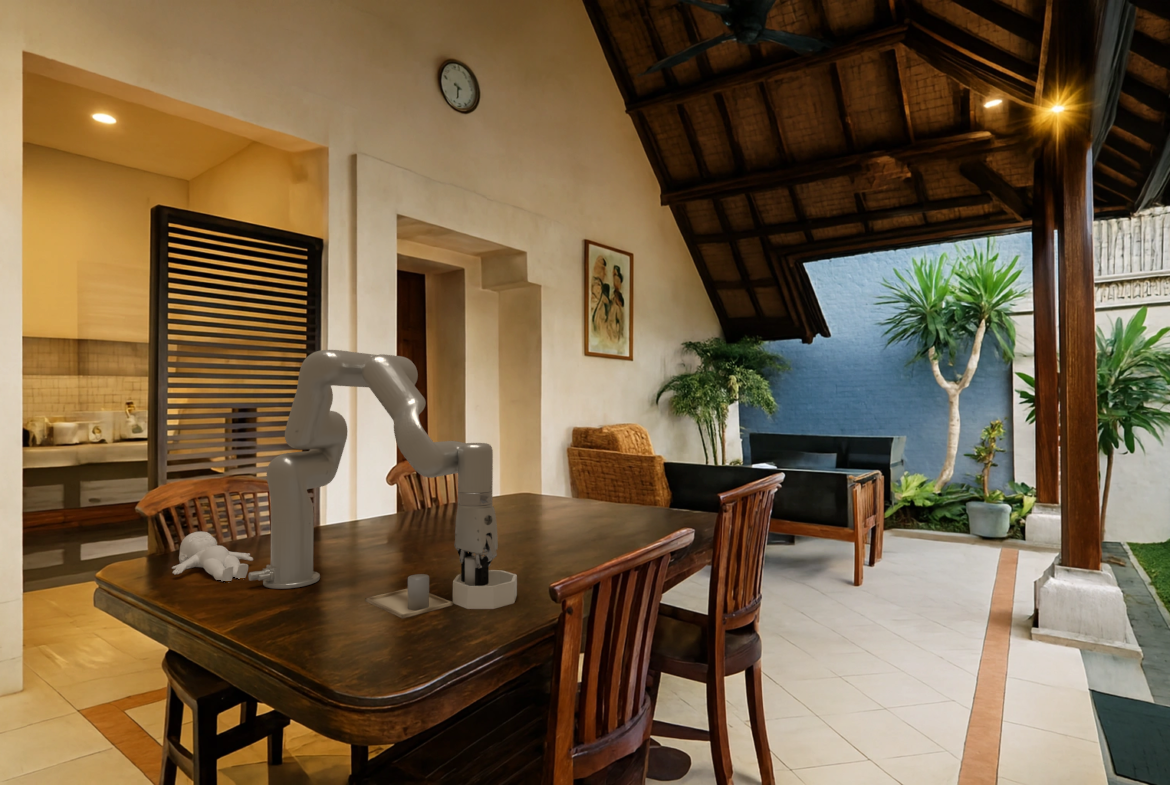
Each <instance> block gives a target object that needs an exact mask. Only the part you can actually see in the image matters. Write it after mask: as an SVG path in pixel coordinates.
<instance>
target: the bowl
mask: <svg viewBox="0 0 1170 785" xmlns="http://www.w3.org/2000/svg"><path fill="white" fill-rule="evenodd" d="M517 596H518V576H517V574H516V573H512V572H509V571H507V570H506V571H505V570H500V569H499V570H498V569H490V570H489V583H488V584H487V585H485V586H469V585H466V584H465V582H462V581H461V573H459V574H457V575H456V577H455V578H454V579H453V581H452V602H453V605H456V606H459V607H461V608H464V609H467V610H470V609H471V610H494V609H495V610H496V609H498V608H501V607H506V606H508V605H509V606H510V605H513V604H515V603H516V602H515V601H516V600H517Z"/></svg>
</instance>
